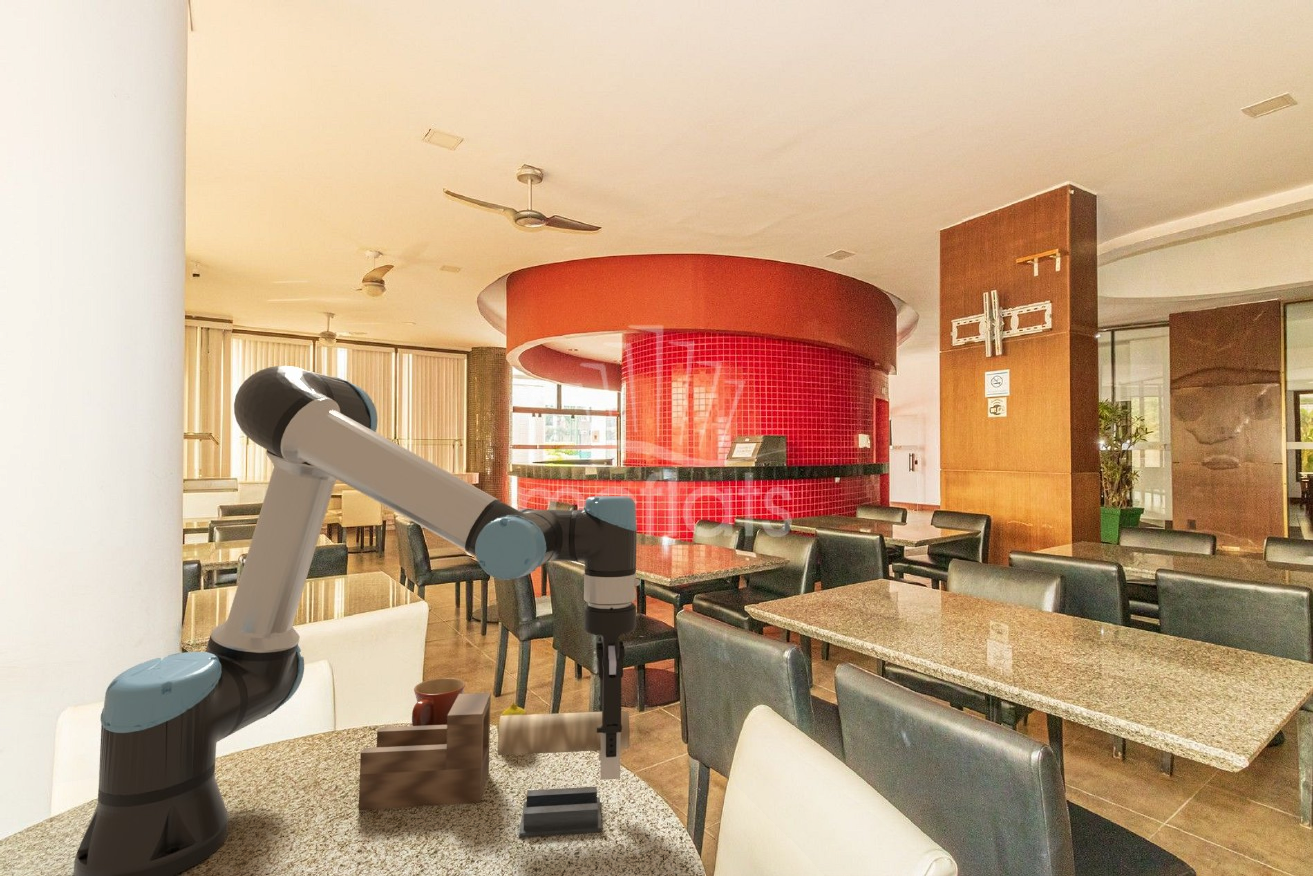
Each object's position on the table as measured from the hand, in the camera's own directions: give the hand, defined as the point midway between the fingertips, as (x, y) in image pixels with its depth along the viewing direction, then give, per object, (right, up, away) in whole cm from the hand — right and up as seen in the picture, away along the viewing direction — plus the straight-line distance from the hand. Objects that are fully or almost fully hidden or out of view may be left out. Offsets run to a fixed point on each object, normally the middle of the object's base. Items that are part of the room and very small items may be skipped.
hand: (609, 767), depth 87 cm
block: (-28, -7, +6) cm, 30 cm away
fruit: (-18, -8, +20) cm, 29 cm away
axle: (-6, +3, 0) cm, 7 cm away
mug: (-33, -8, +21) cm, 39 cm away
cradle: (-7, -7, -1) cm, 9 cm away
